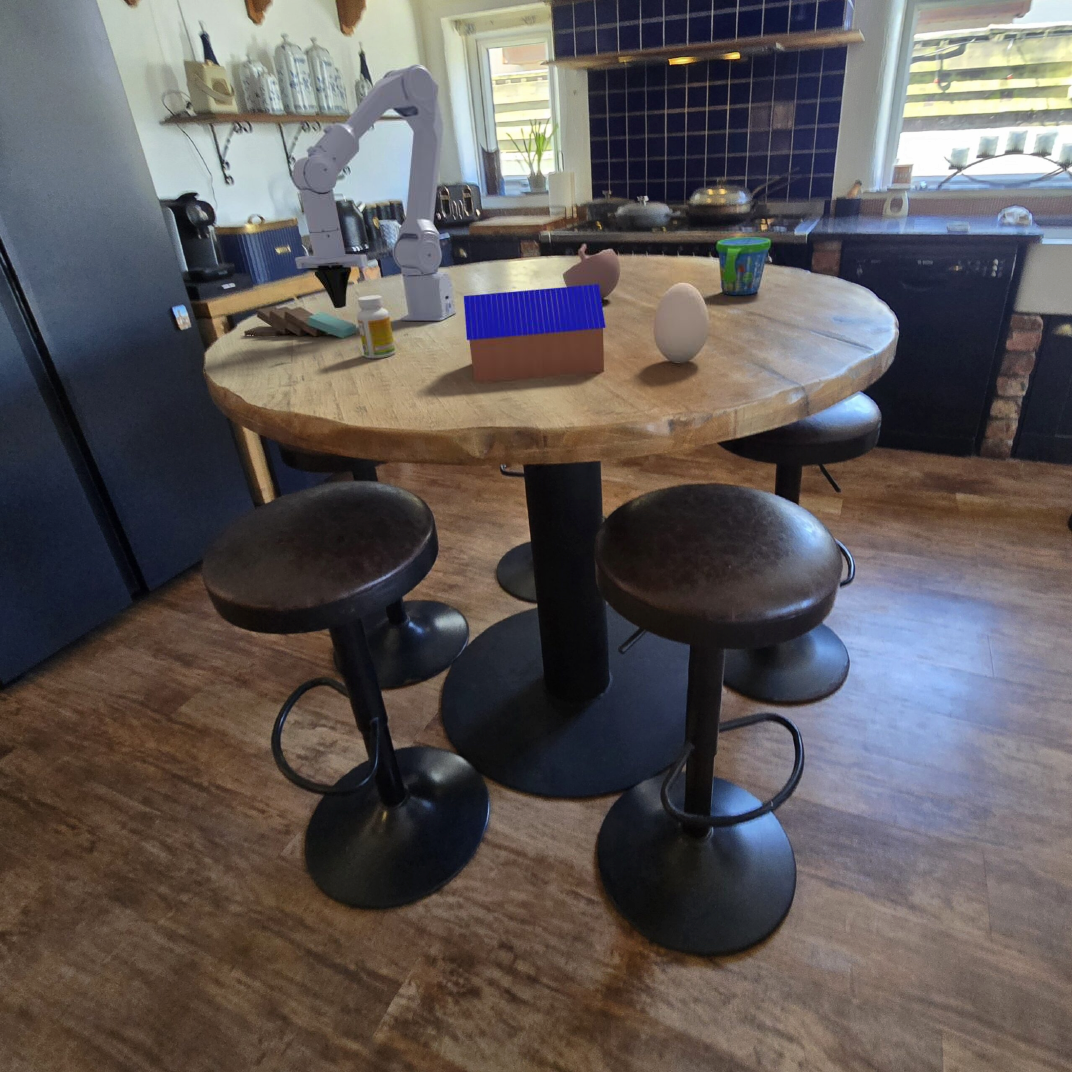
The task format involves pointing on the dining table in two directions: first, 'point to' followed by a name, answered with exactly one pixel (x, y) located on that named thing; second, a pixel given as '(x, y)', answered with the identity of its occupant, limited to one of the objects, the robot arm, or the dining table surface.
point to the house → (535, 333)
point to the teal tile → (332, 324)
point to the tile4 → (264, 316)
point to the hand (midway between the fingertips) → (340, 307)
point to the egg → (681, 323)
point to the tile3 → (285, 321)
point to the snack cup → (742, 264)
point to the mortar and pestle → (595, 271)
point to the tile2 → (302, 320)
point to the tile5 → (263, 331)
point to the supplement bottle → (375, 328)
